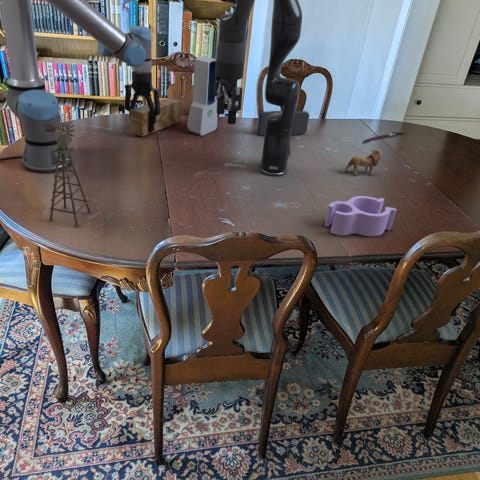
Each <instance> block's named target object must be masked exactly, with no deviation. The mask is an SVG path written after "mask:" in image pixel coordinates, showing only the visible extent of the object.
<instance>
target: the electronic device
mask: <svg viewBox="0 0 480 480" xmlns="http://www.w3.org/2000/svg"><path fill="white" fill-rule="evenodd" d="M193 67H194V71H193V73H194V74H193V93H192V95H193V96H192V103H191V104H190V107H189V112H188V113H189V114H188V117H187V124H186V126H187V129H188V131H189V133H191V134H195V135H198V136H201V137H202V136H205V135H207V134H210V133H213V132H214V131H216V130H217V128H218V114H217V100H216V96H214V89H215V77H216V75H215V68H216V58H213V57H208V56H204V55H198V56H196V57H195V58H194V66H193Z"/></svg>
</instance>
